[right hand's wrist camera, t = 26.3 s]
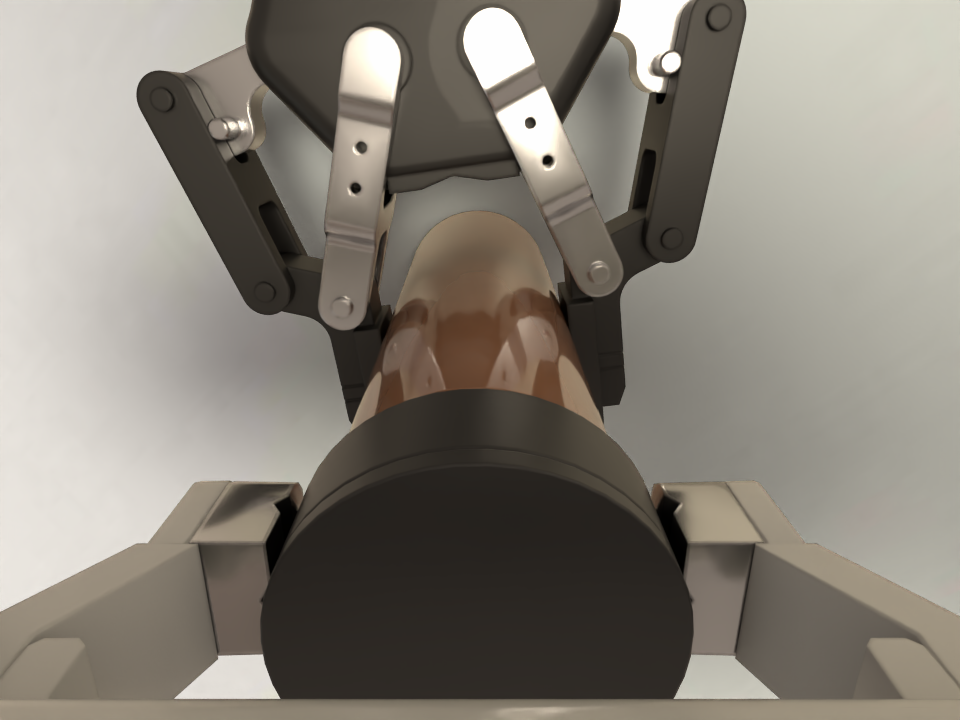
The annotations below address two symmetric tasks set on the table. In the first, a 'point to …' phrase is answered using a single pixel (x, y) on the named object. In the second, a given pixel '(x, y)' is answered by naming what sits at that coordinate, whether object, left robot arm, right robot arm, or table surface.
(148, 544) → the right robot arm
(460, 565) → the lid
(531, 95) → the left robot arm
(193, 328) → the table surface
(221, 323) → the table surface
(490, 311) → the jar
